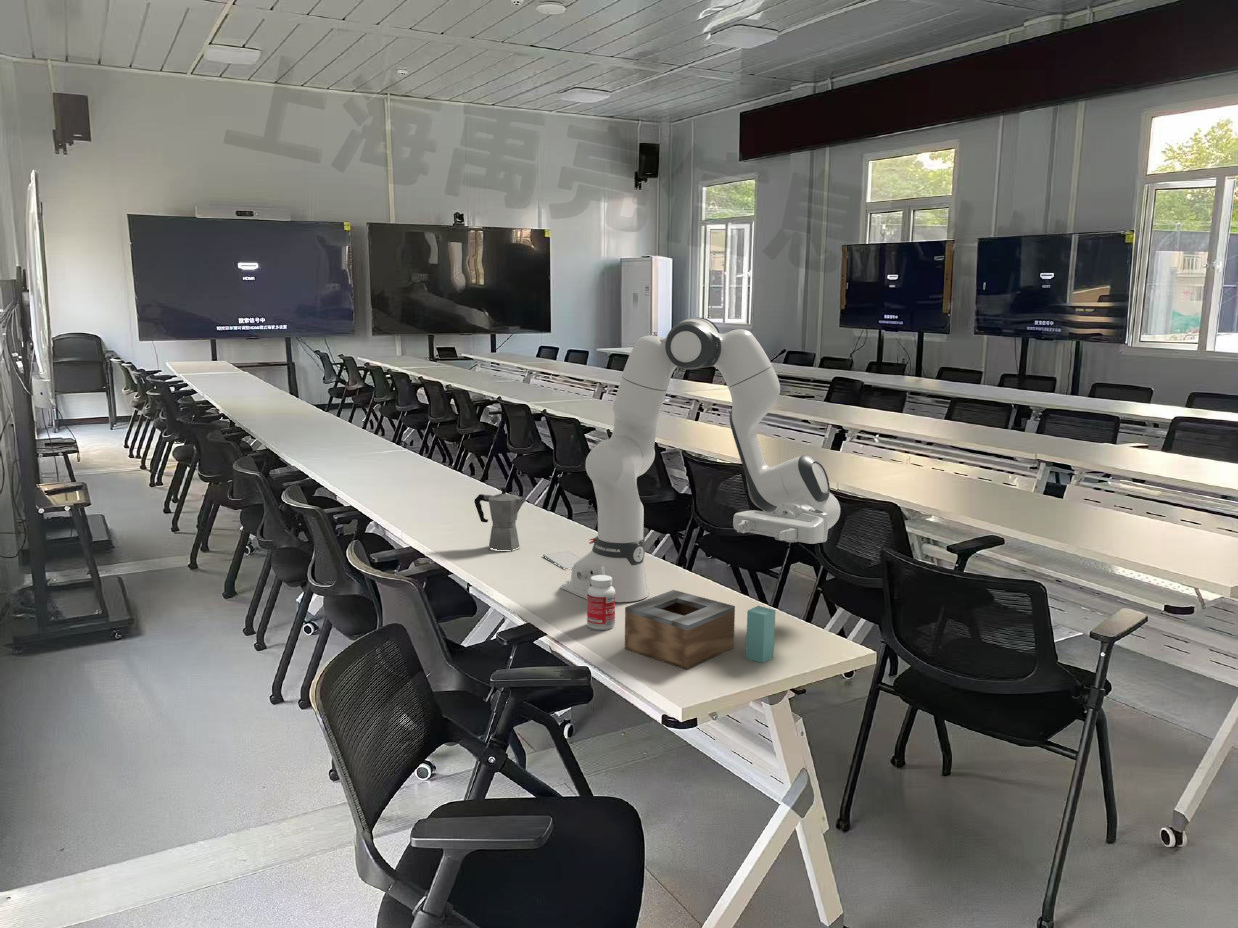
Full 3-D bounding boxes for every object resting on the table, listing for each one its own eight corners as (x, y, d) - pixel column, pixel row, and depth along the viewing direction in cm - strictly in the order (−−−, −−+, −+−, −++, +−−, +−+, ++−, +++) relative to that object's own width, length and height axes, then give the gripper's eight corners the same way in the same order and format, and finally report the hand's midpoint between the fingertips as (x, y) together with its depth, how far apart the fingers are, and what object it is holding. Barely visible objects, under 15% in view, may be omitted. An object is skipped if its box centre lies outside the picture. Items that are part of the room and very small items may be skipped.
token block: (745, 657, 185) (747, 610, 183) (756, 652, 188) (758, 605, 186) (762, 663, 182) (764, 614, 181) (773, 657, 185) (775, 610, 184)
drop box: (624, 649, 189) (625, 607, 187) (672, 629, 201) (673, 589, 199) (686, 669, 179) (687, 625, 177) (733, 647, 190) (734, 605, 189)
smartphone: (564, 568, 245) (542, 554, 258) (564, 572, 245) (542, 557, 258) (592, 565, 249) (568, 550, 262) (592, 568, 249) (568, 554, 262)
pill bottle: (608, 632, 199) (609, 583, 197) (582, 628, 201) (582, 579, 199) (619, 623, 204) (619, 575, 202) (593, 619, 206) (594, 572, 205)
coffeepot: (530, 545, 270) (530, 485, 267) (521, 553, 261) (521, 491, 258) (480, 542, 273) (479, 482, 270) (469, 550, 264) (468, 489, 261)
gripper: (753, 501, 209) (718, 510, 199) (834, 514, 196) (801, 525, 186) (752, 528, 210) (717, 539, 200) (833, 542, 197) (800, 555, 187)
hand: (758, 532), depth 193 cm, fingers open, 8 cm apart
